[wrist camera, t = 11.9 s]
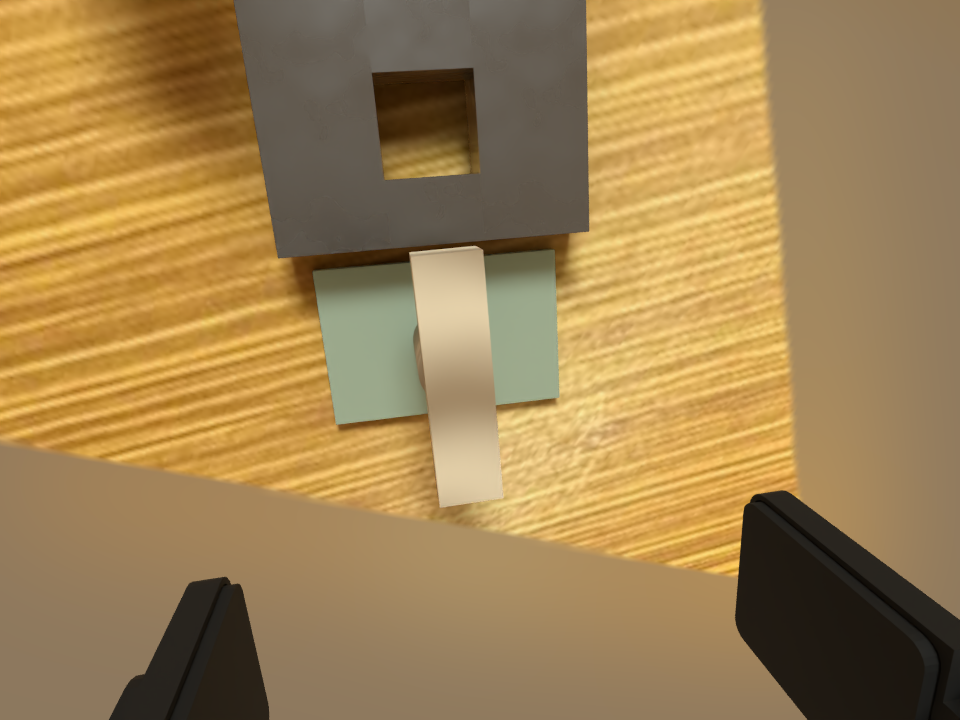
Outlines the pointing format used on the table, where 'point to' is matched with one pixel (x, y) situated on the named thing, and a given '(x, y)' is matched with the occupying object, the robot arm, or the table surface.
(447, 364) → the t key
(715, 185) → the table surface
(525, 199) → the lock housing
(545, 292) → the mat
